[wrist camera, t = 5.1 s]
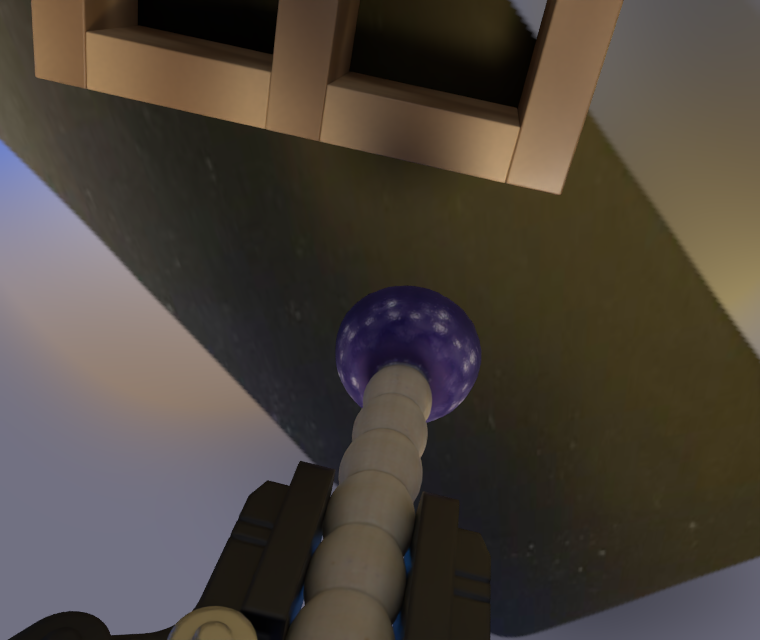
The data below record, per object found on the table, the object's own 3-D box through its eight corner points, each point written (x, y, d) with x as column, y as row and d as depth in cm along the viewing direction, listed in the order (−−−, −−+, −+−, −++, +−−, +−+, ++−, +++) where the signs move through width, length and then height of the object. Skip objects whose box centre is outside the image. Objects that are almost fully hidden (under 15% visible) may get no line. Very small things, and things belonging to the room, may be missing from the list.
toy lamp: (377, 243, 18) (-138, 1290, 4) (531, 313, 19) (629, 1588, 4) (318, 376, 21) (-148, 1354, 6) (455, 437, 21) (334, 1537, 6)
